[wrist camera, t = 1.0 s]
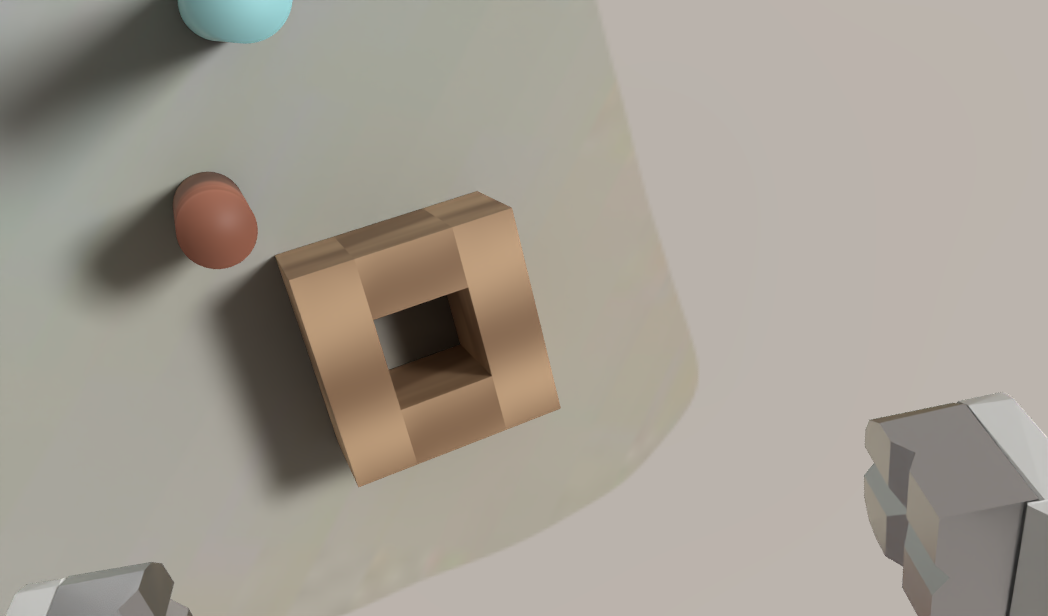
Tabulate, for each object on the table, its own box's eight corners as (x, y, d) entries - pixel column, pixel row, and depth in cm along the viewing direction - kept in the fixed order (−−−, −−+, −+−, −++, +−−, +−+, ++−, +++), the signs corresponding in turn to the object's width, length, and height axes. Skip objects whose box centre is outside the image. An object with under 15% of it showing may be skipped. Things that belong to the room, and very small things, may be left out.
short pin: (162, 183, 42) (164, 205, 36) (231, 163, 42) (242, 182, 37) (186, 248, 43) (191, 279, 37) (253, 227, 43) (267, 255, 38)
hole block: (274, 255, 44) (288, 280, 39) (477, 191, 47) (511, 207, 42) (339, 444, 47) (358, 487, 43) (523, 374, 50) (560, 408, 45)
